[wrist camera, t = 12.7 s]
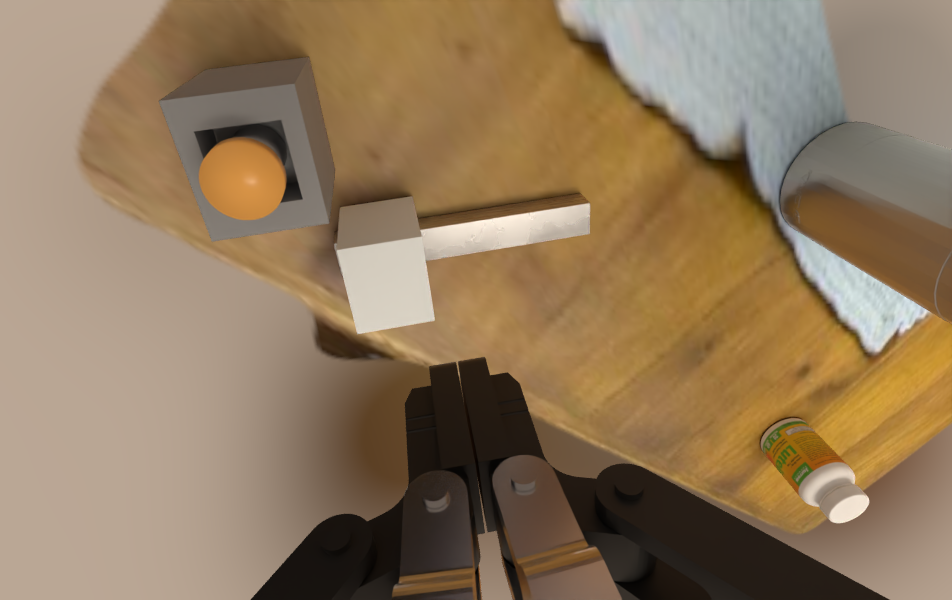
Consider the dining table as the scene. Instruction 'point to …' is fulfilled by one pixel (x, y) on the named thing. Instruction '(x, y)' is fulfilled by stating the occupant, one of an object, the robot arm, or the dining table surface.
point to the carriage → (384, 265)
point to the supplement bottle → (814, 470)
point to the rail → (502, 226)
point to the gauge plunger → (245, 173)
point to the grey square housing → (267, 104)
